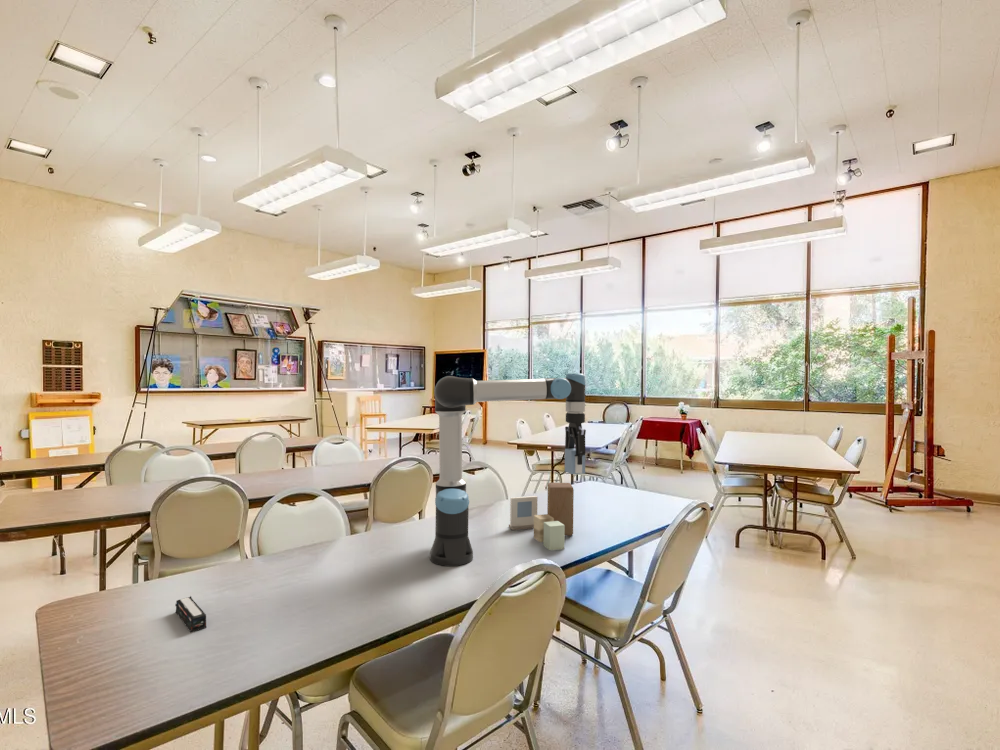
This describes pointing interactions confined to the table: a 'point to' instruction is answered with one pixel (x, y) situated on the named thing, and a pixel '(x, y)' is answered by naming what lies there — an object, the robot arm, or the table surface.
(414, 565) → the table surface
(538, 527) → the maple block
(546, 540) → the sage block
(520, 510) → the placard
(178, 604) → the bus
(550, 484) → the wooden block
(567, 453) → the slate blue block
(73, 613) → the table surface
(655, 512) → the table surface
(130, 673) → the table surface
